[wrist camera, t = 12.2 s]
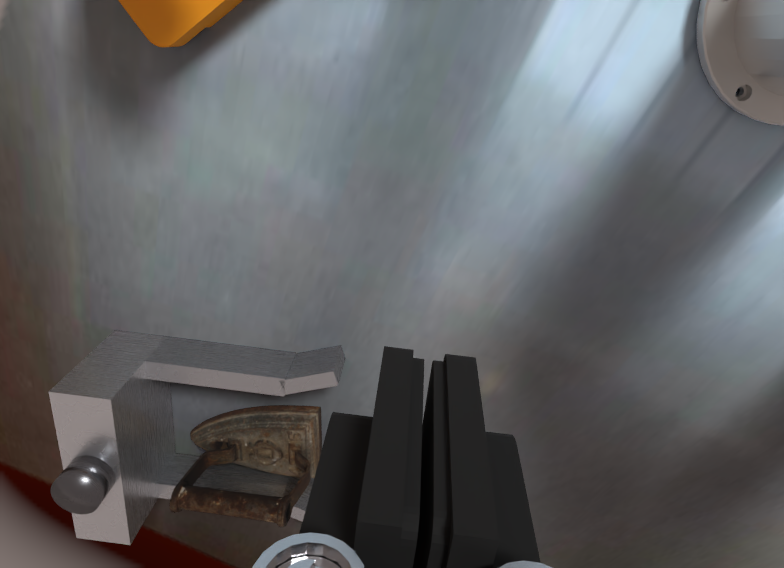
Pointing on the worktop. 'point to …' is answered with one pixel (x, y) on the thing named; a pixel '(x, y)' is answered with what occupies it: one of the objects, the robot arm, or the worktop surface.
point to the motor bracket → (160, 424)
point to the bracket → (176, 18)
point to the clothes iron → (254, 459)
